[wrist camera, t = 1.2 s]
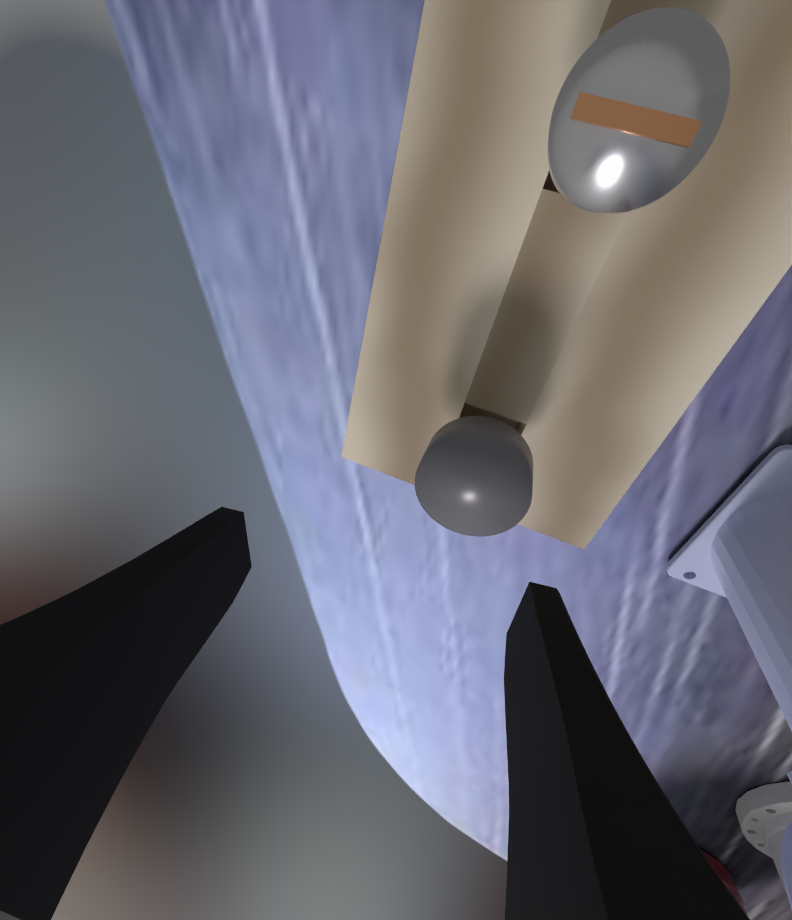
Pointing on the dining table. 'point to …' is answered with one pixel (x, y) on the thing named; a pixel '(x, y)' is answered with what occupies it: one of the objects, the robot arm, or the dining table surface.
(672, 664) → the dining table surface
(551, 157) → the pot knob
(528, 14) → the mount board
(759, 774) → the dining table surface
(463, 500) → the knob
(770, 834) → the mechanical component
